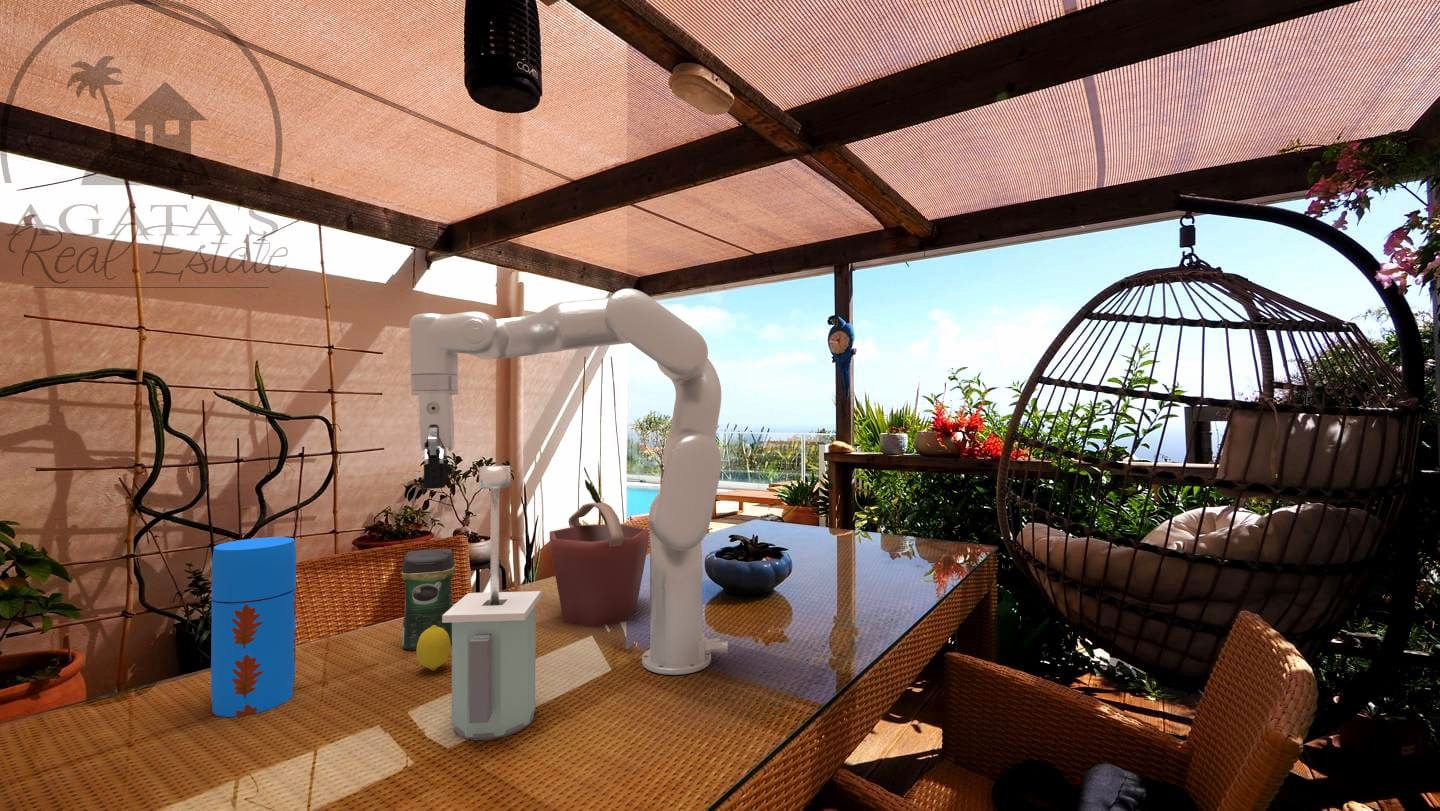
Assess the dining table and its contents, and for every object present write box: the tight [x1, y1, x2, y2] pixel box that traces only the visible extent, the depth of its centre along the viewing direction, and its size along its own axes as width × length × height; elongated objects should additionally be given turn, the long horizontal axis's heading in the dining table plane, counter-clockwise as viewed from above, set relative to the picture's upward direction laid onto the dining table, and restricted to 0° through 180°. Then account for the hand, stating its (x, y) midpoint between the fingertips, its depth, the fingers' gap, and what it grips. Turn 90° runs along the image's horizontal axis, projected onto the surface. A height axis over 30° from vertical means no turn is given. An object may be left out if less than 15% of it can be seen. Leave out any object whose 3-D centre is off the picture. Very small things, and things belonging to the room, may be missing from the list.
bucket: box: [549, 502, 650, 628], centre depth 144 cm, size 24×22×25 cm
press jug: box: [442, 590, 542, 741], centre depth 93 cm, size 14×11×17 cm
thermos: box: [210, 536, 297, 718], centre depth 101 cm, size 11×11×25 cm
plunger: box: [478, 465, 511, 606], centre depth 94 cm, size 8×8×24 cm
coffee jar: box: [401, 548, 456, 650], centre depth 126 cm, size 10×8×19 cm
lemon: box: [415, 625, 452, 672], centre depth 112 cm, size 6×6×8 cm
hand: (436, 485), depth 109 cm, fingers open, 9 cm apart
